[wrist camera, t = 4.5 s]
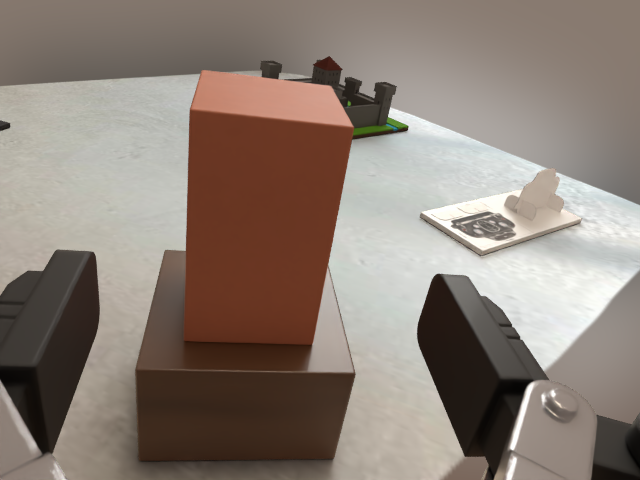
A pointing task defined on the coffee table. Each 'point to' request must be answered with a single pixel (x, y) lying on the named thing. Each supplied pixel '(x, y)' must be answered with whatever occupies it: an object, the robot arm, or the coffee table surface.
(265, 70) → the castle model
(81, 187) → the coffee table surface
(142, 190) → the coffee table surface
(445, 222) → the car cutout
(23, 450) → the robot arm
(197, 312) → the top block
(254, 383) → the base block
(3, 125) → the felt mat
